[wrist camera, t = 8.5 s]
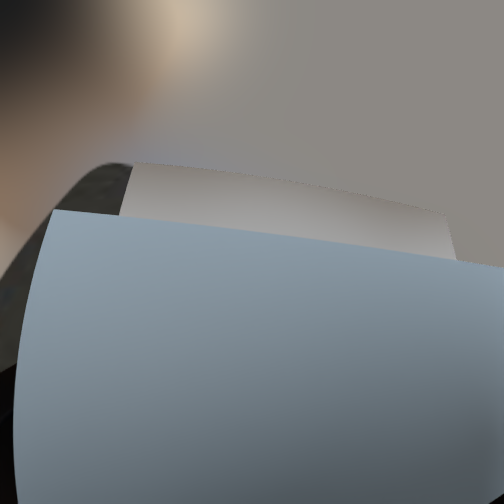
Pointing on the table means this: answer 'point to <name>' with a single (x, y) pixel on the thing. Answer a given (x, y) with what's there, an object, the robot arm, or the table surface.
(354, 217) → the book stand
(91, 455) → the book
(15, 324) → the table surface
